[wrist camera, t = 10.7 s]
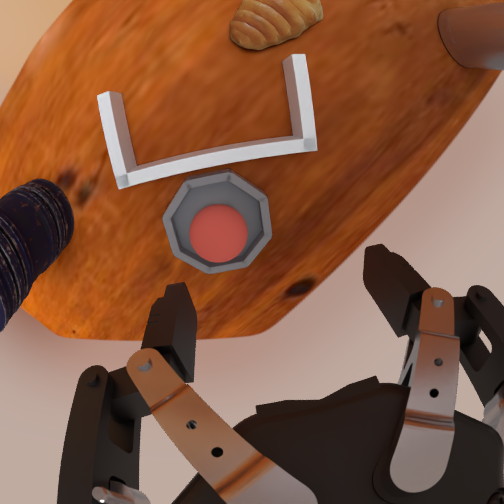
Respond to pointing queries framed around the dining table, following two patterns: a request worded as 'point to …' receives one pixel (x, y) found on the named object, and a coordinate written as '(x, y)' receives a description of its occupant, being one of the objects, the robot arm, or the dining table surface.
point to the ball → (218, 233)
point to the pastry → (272, 21)
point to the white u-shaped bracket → (299, 142)
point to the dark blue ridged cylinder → (30, 239)
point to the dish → (209, 193)
